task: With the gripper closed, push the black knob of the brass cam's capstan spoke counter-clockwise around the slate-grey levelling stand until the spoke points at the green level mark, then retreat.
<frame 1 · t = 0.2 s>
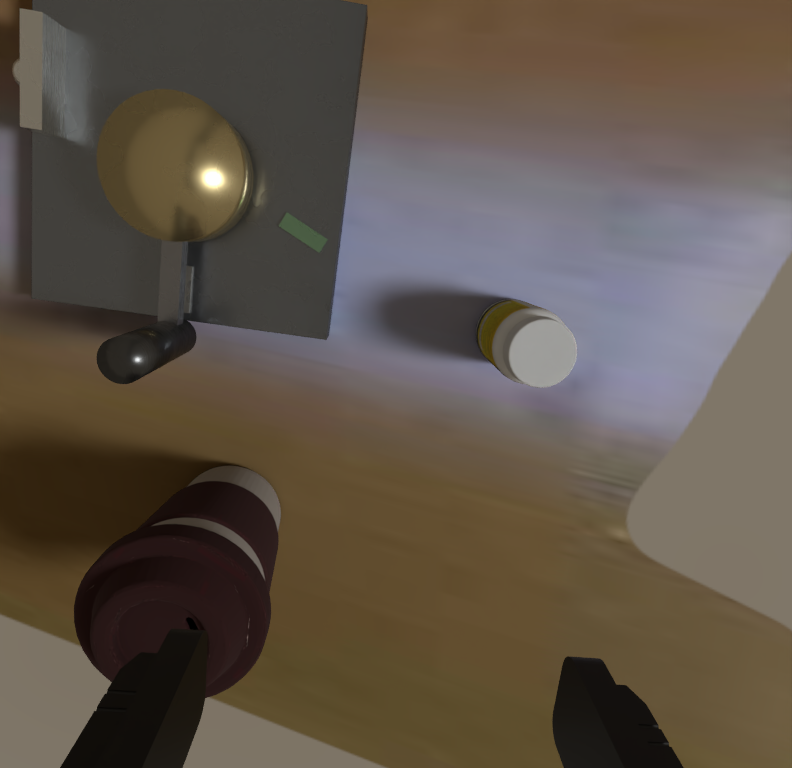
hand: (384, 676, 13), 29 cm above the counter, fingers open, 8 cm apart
cam capstan: (158, 233, 31), point 7 cm above the counter, hinge at 0.0°
supplement bottle: (507, 331, 40), on the counter
coffee cup: (233, 507, 43), on the counter
stand: (201, 163, 37), on the counter
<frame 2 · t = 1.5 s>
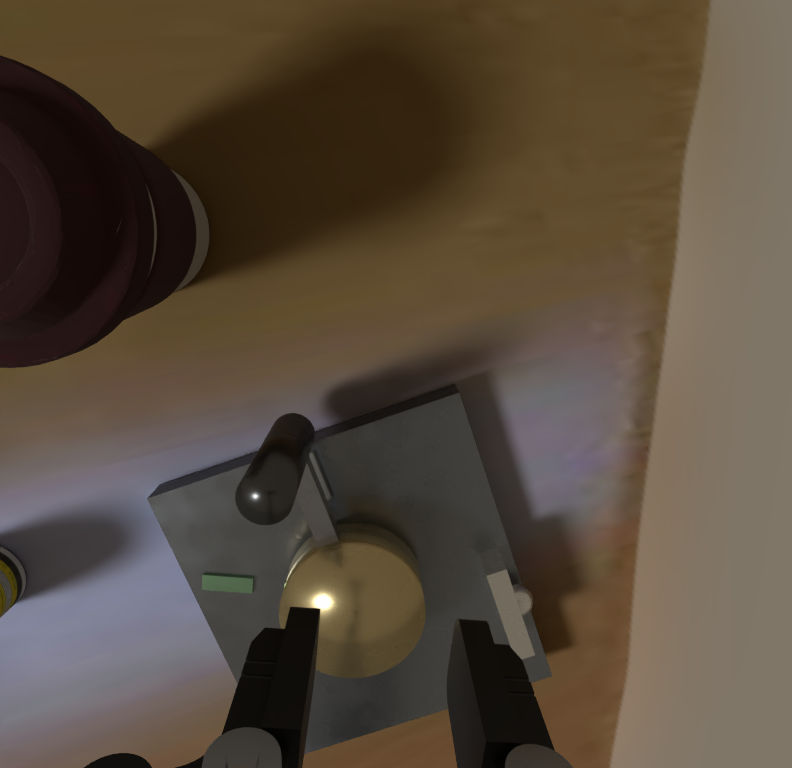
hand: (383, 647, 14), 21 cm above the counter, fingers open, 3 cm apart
cam capstan: (327, 572, 29), point 7 cm above the counter, hinge at 0.0°
coffee cup: (147, 230, 32), on the counter
stand: (361, 573, 37), on the counter
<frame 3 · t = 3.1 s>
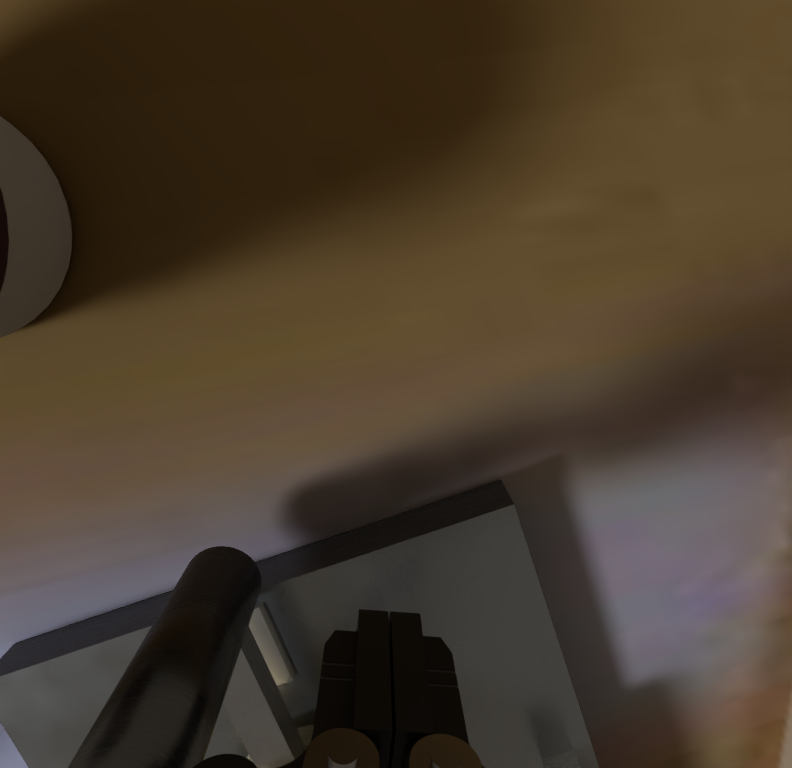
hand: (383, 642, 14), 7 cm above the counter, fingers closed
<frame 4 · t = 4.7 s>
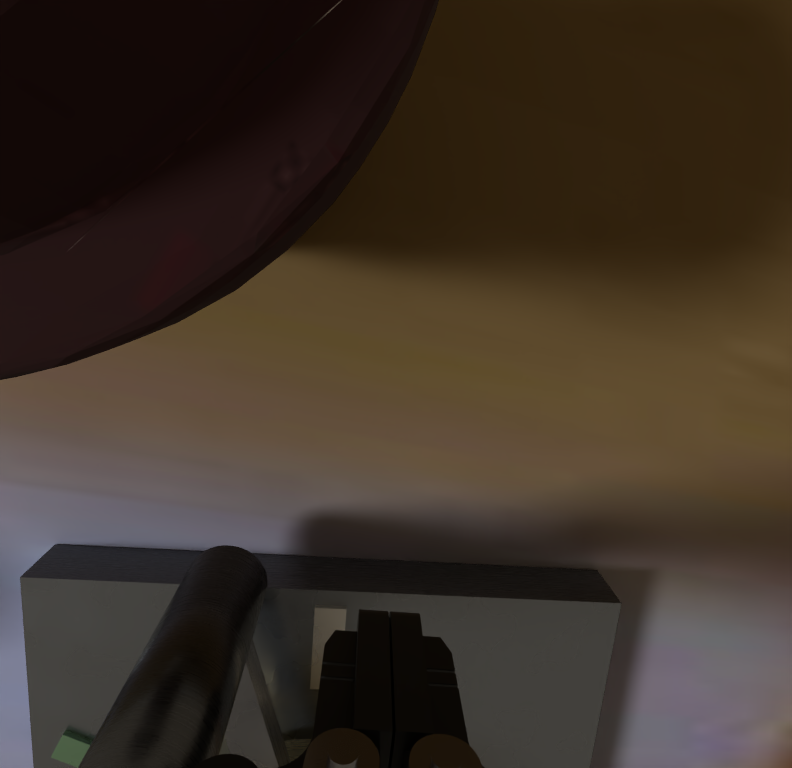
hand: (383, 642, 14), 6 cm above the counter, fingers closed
coffee cup: (227, 119, 17), on the counter
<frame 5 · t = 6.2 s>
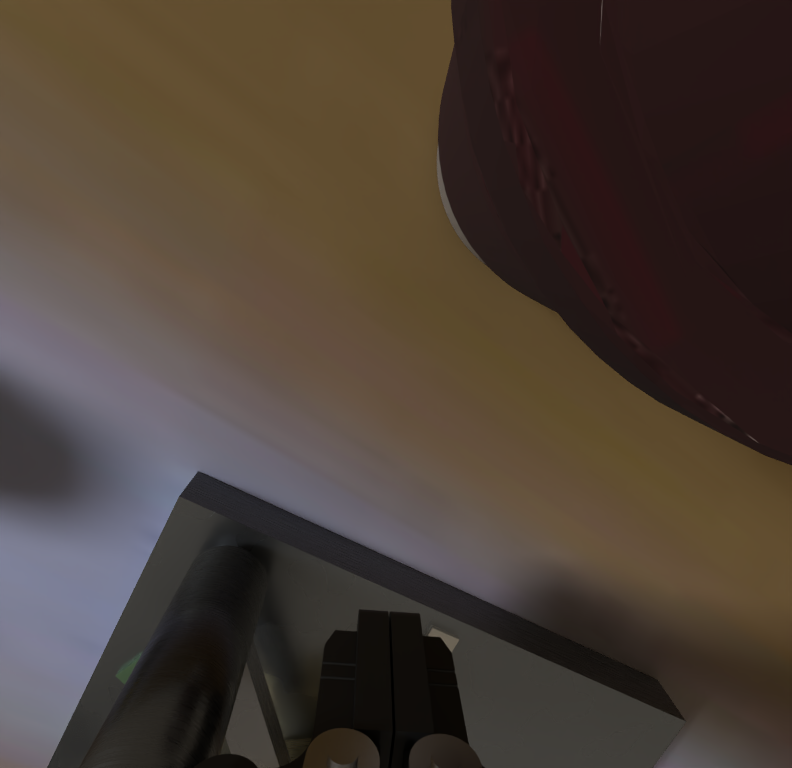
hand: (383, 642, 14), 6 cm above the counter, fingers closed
coffee cup: (549, 166, 18), on the counter
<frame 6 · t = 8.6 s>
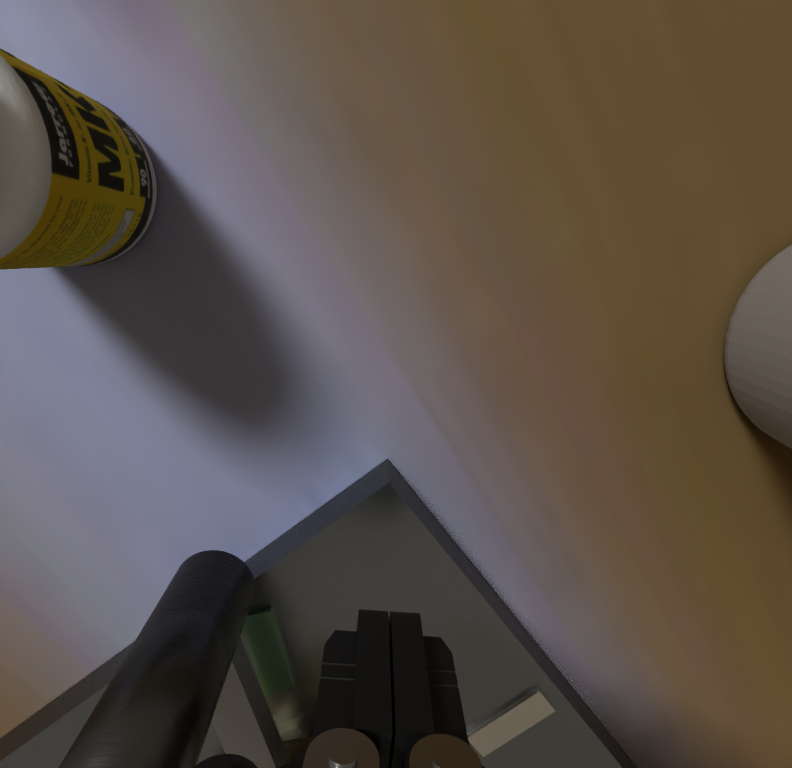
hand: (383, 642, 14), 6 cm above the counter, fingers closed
supplement bottle: (82, 183, 17), on the counter
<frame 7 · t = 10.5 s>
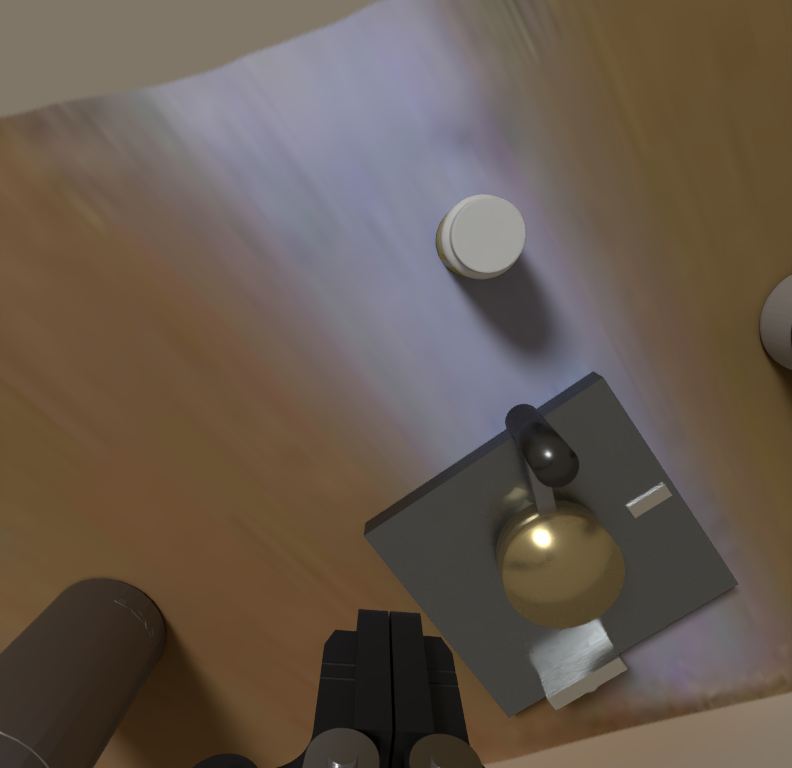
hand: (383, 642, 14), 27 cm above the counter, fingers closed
cam capstan: (558, 535, 36), point 7 cm above the counter, hinge at 68.9°
supplement bottle: (470, 240, 38), on the counter
stand: (545, 546, 43), on the counter
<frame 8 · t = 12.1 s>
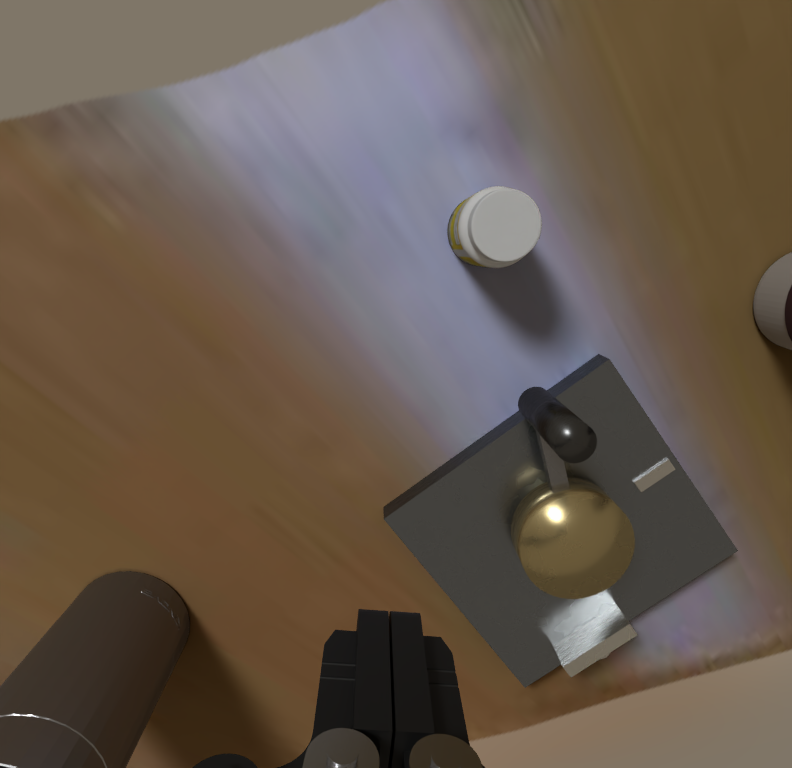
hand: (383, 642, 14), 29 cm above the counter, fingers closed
cam capstan: (573, 510, 37), point 7 cm above the counter, hinge at 68.9°
supplement bottle: (479, 231, 40), on the counter
stand: (556, 522, 45), on the counter
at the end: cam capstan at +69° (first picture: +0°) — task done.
